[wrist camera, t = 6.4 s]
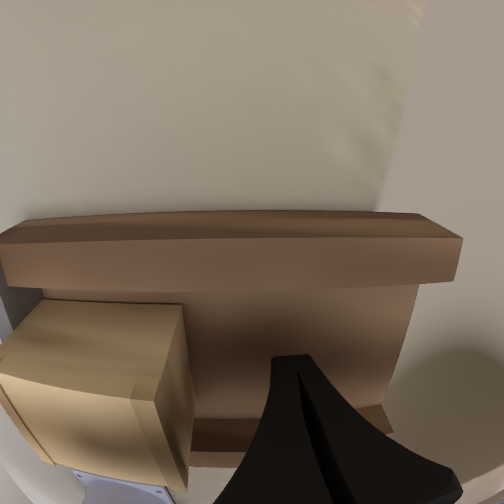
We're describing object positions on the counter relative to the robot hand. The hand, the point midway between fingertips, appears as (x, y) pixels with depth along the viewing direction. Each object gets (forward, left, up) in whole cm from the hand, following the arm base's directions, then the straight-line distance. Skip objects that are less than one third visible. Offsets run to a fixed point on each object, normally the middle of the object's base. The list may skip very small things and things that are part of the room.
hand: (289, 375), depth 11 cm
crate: (0, +7, -1) cm, 7 cm away
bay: (0, +3, -2) cm, 3 cm away
